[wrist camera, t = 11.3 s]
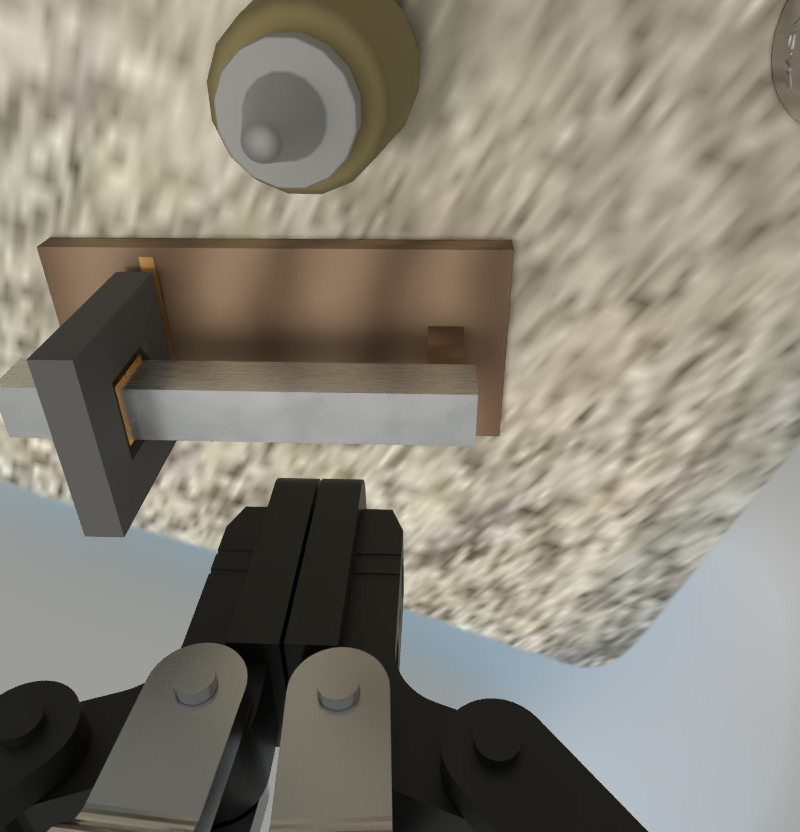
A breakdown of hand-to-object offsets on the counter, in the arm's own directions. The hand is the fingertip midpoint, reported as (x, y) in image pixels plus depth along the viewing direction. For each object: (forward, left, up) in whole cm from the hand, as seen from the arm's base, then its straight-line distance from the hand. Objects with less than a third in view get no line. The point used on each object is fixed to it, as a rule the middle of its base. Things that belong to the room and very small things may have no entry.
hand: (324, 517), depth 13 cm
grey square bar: (+8, +11, -23) cm, 27 cm away
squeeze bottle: (+3, -4, -29) cm, 30 cm away
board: (+7, +11, -29) cm, 32 cm away
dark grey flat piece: (+14, +11, -27) cm, 32 cm away
